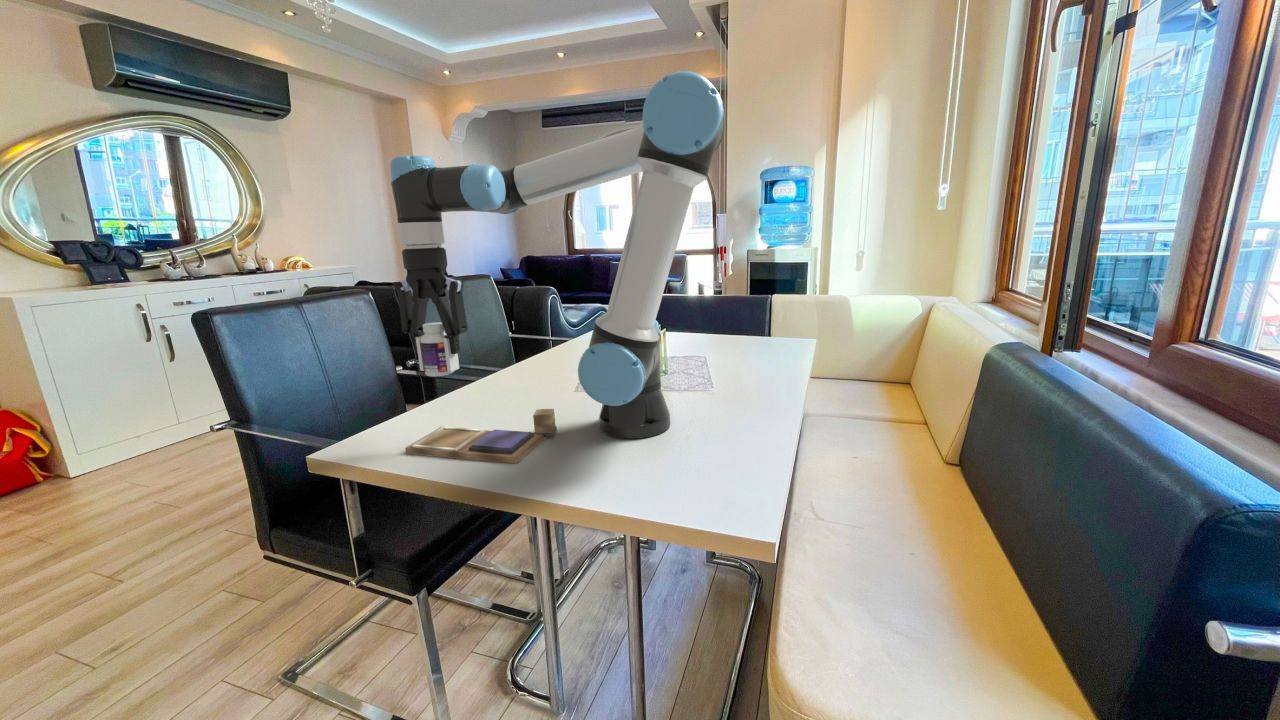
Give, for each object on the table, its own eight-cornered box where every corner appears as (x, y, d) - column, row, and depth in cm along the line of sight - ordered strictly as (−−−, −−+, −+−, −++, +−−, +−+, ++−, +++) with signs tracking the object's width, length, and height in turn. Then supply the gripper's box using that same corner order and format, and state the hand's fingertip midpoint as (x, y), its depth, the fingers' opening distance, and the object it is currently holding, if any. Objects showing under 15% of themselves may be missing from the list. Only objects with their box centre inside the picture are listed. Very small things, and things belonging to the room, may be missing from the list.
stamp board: (543, 440, 104) (542, 429, 104) (517, 463, 94) (515, 452, 93) (441, 432, 111) (440, 422, 110) (406, 453, 100) (404, 442, 100)
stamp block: (556, 430, 109) (555, 408, 108) (553, 438, 105) (551, 414, 104) (538, 431, 109) (536, 408, 108) (534, 438, 105) (532, 415, 104)
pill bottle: (445, 377, 97) (438, 326, 95) (419, 376, 98) (412, 326, 96) (460, 369, 102) (454, 321, 100) (435, 369, 103) (429, 321, 101)
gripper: (479, 244, 95) (492, 366, 101) (395, 247, 100) (412, 363, 106) (454, 246, 88) (470, 376, 94) (366, 249, 93) (386, 372, 99)
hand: (439, 369), depth 100 cm, fingers closed on pill bottle, 5 cm apart
